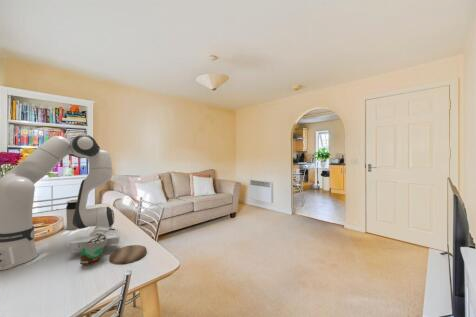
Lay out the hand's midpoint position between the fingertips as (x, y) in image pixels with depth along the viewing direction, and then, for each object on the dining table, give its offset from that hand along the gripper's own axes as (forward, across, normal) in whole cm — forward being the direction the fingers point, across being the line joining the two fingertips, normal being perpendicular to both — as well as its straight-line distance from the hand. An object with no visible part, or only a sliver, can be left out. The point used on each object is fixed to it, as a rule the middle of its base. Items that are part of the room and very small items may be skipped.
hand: (92, 247), depth 99 cm
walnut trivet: (+1, +15, +6) cm, 16 cm away
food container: (+1, +1, +6) cm, 6 cm away
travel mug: (-54, -21, +5) cm, 59 cm away
